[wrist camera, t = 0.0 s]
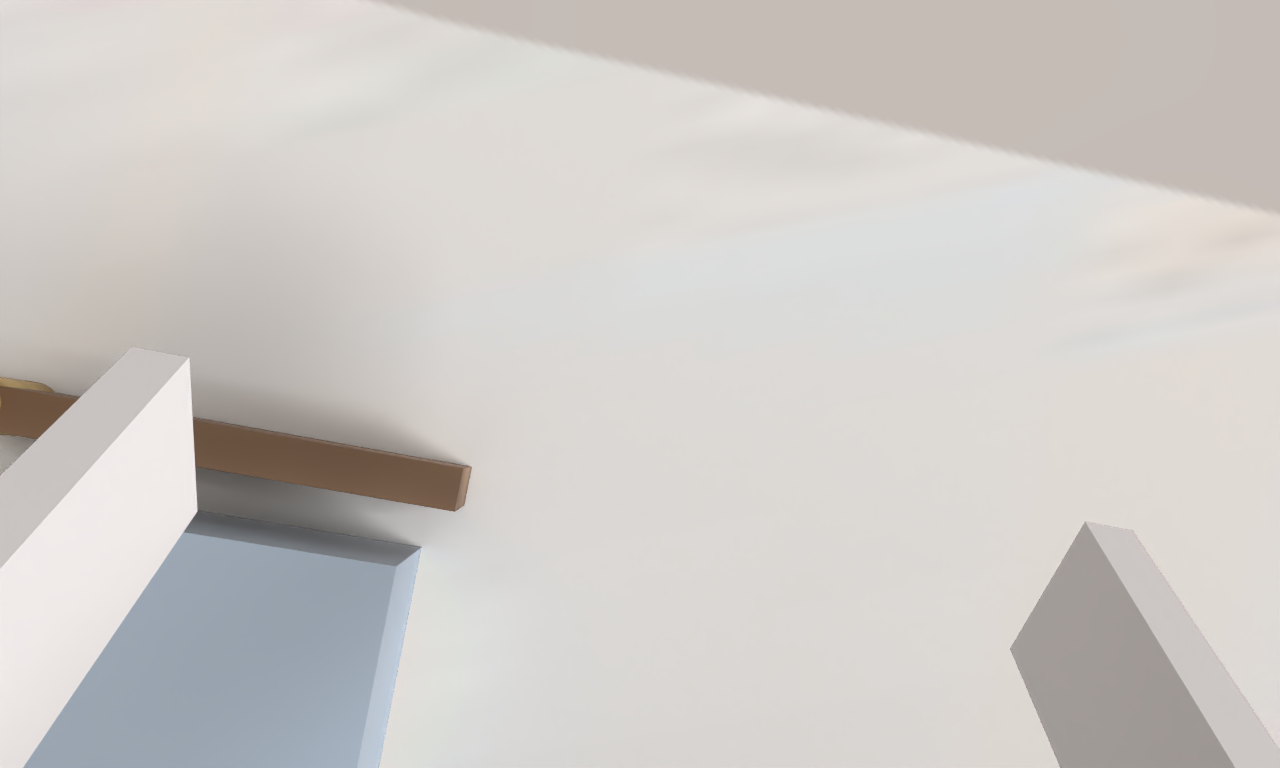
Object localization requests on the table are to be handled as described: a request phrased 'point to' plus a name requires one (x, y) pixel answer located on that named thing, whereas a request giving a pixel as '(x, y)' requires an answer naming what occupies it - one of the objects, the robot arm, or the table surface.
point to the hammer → (270, 453)
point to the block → (247, 655)
